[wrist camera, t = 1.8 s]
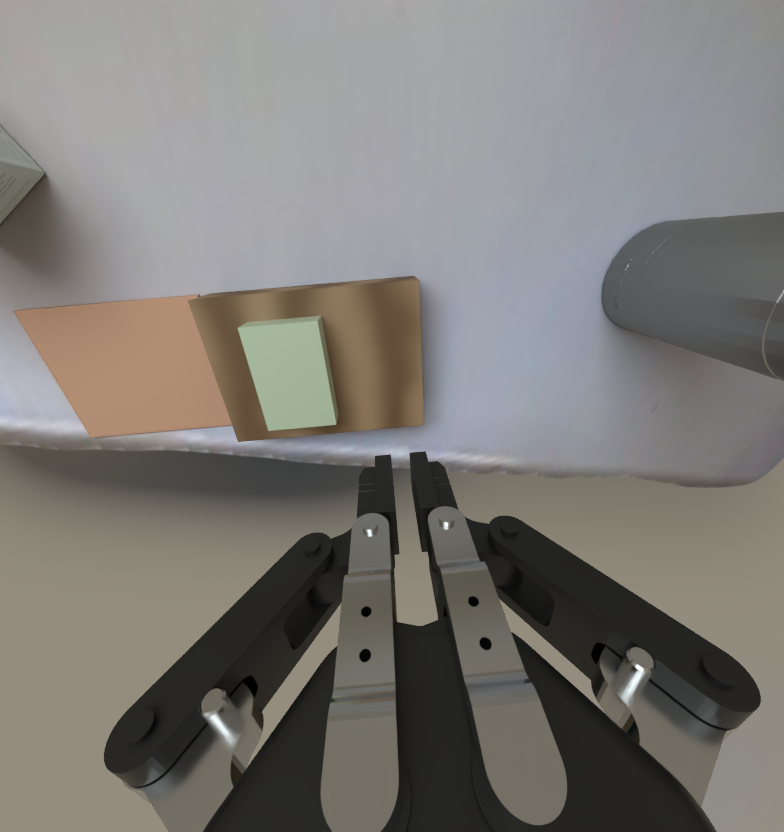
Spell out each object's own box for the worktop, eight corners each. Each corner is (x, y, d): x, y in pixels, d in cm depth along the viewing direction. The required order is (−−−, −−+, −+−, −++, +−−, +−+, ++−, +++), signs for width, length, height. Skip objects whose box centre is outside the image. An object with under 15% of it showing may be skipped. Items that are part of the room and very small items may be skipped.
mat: (199, 294, 28) (197, 294, 28) (242, 422, 34) (241, 423, 34) (16, 310, 28) (13, 310, 28) (92, 436, 34) (90, 437, 34)
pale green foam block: (321, 315, 26) (317, 320, 24) (338, 414, 30) (336, 424, 28) (246, 322, 26) (237, 327, 24) (274, 420, 30) (268, 430, 28)
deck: (413, 276, 28) (419, 280, 25) (418, 406, 35) (424, 424, 31) (210, 293, 28) (187, 300, 25) (252, 421, 34) (238, 441, 31)
